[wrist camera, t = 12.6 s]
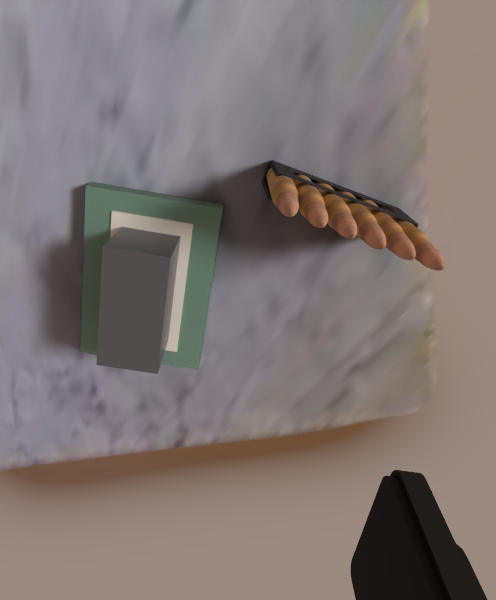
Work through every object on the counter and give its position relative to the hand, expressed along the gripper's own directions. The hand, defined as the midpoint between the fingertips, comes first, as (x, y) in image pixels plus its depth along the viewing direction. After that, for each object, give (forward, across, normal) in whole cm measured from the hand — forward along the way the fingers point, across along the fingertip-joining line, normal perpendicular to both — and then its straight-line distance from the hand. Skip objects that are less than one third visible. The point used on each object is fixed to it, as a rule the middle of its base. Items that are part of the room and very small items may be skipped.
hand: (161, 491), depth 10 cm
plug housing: (+27, +5, +7) cm, 28 cm away
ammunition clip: (+29, -8, -2) cm, 30 cm away
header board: (+28, +5, +7) cm, 30 cm away
